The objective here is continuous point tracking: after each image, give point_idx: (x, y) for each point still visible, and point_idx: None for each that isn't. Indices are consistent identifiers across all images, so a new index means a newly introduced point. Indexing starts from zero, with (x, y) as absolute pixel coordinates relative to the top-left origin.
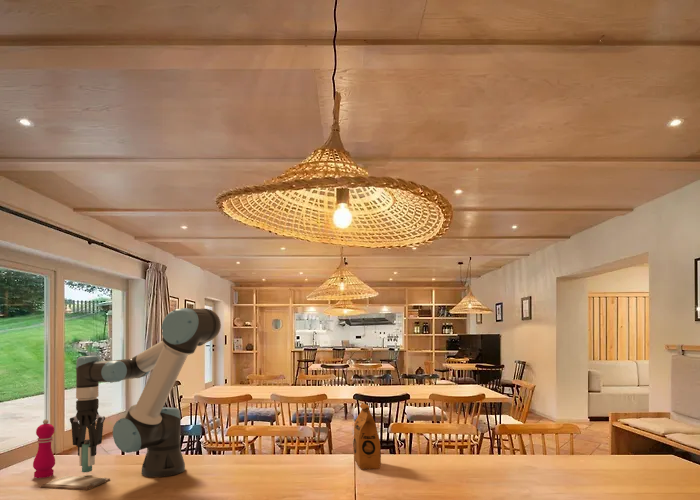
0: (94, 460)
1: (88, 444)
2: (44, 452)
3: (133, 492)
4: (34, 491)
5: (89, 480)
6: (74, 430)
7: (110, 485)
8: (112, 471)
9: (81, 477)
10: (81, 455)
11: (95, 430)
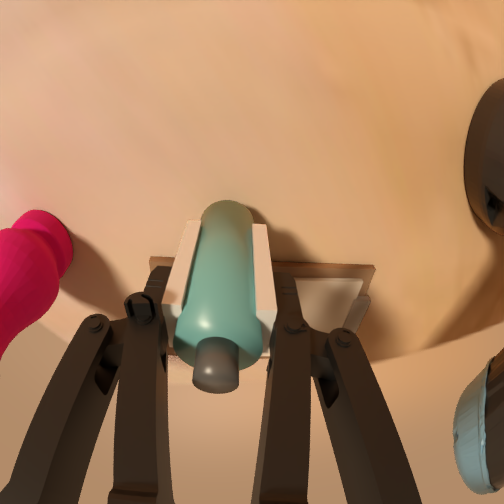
0: (267, 239)
1: (244, 360)
2: (16, 334)
3: (445, 336)
4: (182, 371)
5: (313, 315)
6: (89, 461)
7: (389, 310)
8: (325, 122)
9: None
10: None
11: (308, 456)
